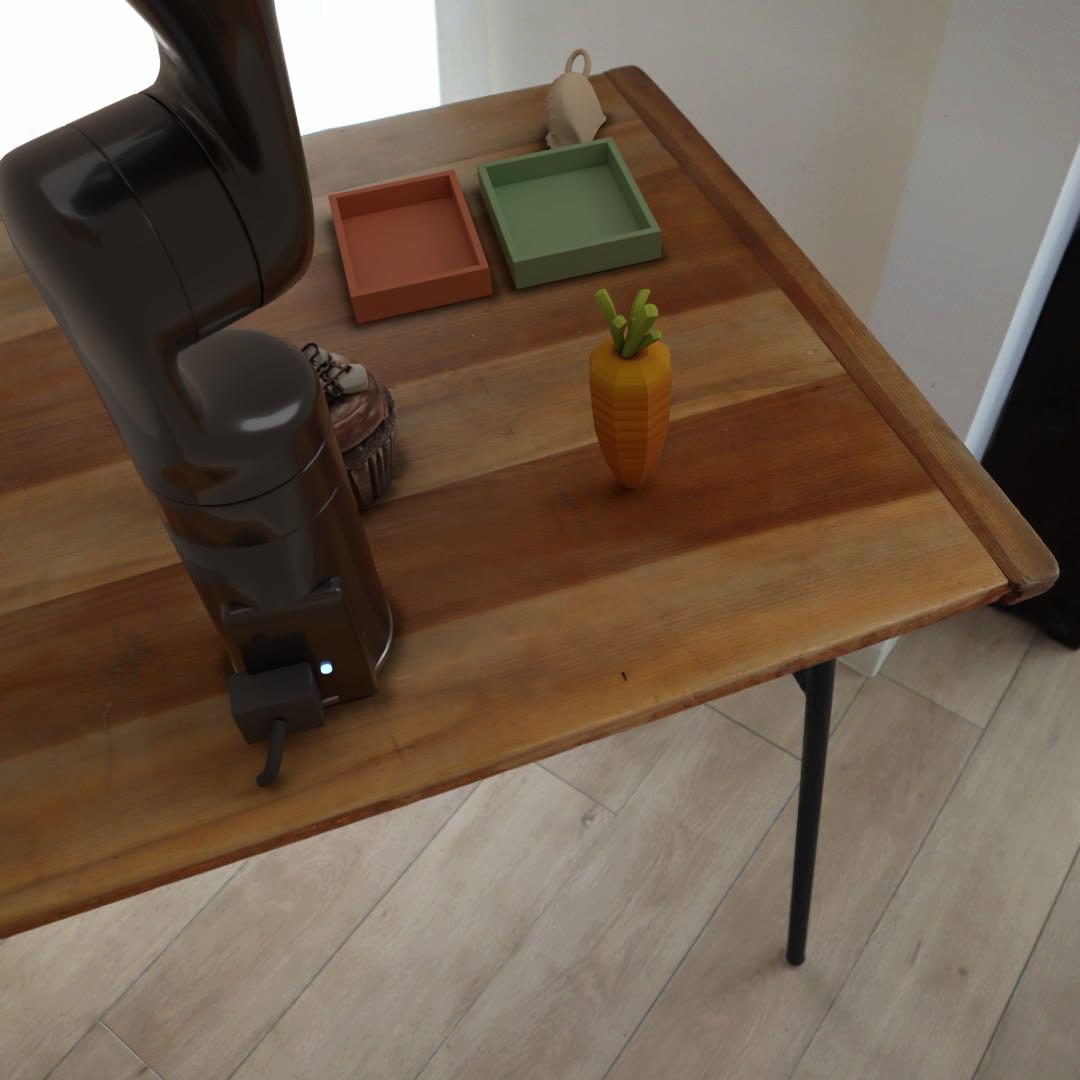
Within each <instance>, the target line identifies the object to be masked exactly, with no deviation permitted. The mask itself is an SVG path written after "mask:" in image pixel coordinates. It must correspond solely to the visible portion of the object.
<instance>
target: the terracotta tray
mask: <svg viewBox="0 0 1080 1080" xmlns="http://www.w3.org/2000/svg"><path fill="white" fill-rule="evenodd" d="M327 198H328V203H329V208H330V212H331V215H332V220H333V225H334V229H335V234H336V237H337V243H338V247H339V252H340V256H341V262H342V265H343V269H344V274H345V278H346V283H347V287H348V293H349V296H350V301H351V305H352V309H353V312H354V316H355V321H356V323H357V324H358V325H359V324H365V323H367V322H368V323H369V322H373V321H377V320H382V319H387V318H391V317H397V316H401V315H406V314H410V313H414V312H419V311H423V310H429V309H433V308H437V307H442V306H447V305H451V304H456V303H460V302H464V301H470V300H473V299H474V300H475V299H480V298H484V297H488V296H493V286H492V279H491V271H490V266H489V263H488V260H487V258H486V255H485V252H484V250H483V246H482V244H481V241H480V237H479V235H478V233H477V230H476V227H475V223H474V221H473V219H472V216H471V213H470V210H469V207H468V204H467V201H466V199H465V196H464V193H463V190H462V186H461V184H460V182H459V178H458V176H457V174H456V170H455V169H449V170H444V171H439V172H434V173H430V174H425V175H420V176H415V177H411V178H410V177H409V178H405V179H401V180H396V181H391V182H387V183H382V184H377V185H371V186H367V187H362V188H357V189H352V190H347V191H343V192H338V193H332V194H328V195H327Z"/></svg>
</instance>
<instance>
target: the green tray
mask: <svg viewBox="0 0 1080 1080" xmlns="http://www.w3.org/2000/svg"><path fill="white" fill-rule="evenodd" d="M626 163H627V162H626V161H625V159H624V157H623V156H622V154H621V152H620V150H619V148H618V146H617V144H616V143H615V140H614V139H613V137H612V136H609V137H604V138H599V139H594V140H592V141H589V142H584V143H579V144H574V145H569V146H565V147H560V148H555V149H551V148H549V149H546V150H540V151H537V152H531V153H527V154H522V155H516V156H512V157H507V158H502V159H497V160H493V161H492V160H491V161H488V162H483V163H478V164H477V163H476V171H477V180H478V187H479V193H480V195H481V198H482V200H483V204H484V206H485V208H486V211H487V214H488V216H489V220H490V222H491V225H492V228H493V230H494V233H495V236H496V238H497V241H498V243H499V246H500V249H501V252H502V254H503V257H504V260H505V262H506V266H507V268H508V271H509V273H510V276H511V279H512V281H513V284H514V287H515V289H516V290H521V289H525V288H530V287H534V286H538V285H543V284H549V283H552V282H558V281H562V280H566V279H571V278H576V277H580V276H584V275H590V274H594V273H598V272H603V271H607V270H613V269H616V268H617V269H618V268H621V267H627V266H631V265H635V264H640V263H645V262H649V261H654V260H658V259H661V258H662V230H661V228H660V226H659V224H658V222H657V220H656V218H655V216H654V215H653V213H652V210H651V209H650V207H649V205H648V203H647V201H646V200H645V198H644V196H643V193H642V191H641V190H640V188H639V186H638V184H637V182H636V181H635V179H634V176H633V175H632V173H631V171H630V168H629V167H628V165H627V164H626Z"/></svg>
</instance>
